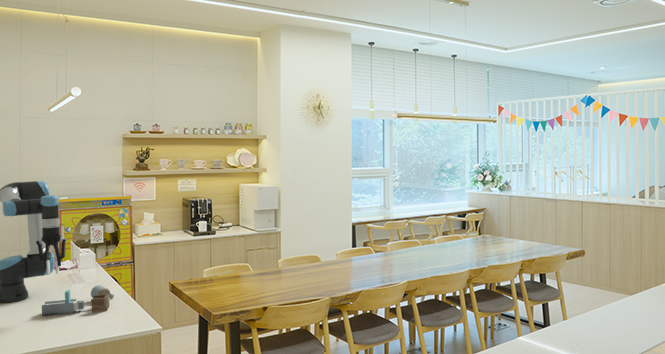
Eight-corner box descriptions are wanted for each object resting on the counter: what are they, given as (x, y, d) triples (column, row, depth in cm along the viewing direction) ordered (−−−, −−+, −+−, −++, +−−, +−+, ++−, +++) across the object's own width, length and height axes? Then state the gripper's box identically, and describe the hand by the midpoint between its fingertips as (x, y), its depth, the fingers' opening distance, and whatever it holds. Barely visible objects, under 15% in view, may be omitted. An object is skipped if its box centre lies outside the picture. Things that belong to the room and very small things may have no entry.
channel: (46, 312, 246) (45, 301, 246) (76, 309, 250) (76, 299, 249) (42, 316, 240) (41, 305, 239) (73, 313, 244) (72, 302, 243)
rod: (45, 310, 244) (44, 292, 244) (84, 307, 249) (83, 288, 249) (42, 313, 241) (41, 294, 241) (82, 309, 246) (81, 290, 245)
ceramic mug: (98, 303, 259) (98, 289, 259) (90, 300, 264) (90, 286, 264) (117, 298, 268) (117, 284, 268) (109, 296, 273) (108, 282, 272)
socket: (94, 307, 253) (94, 295, 252) (109, 305, 255) (108, 293, 254) (91, 312, 245) (91, 299, 245) (106, 310, 247) (106, 298, 247)
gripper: (29, 228, 236) (32, 276, 237) (67, 226, 240) (69, 273, 242) (34, 226, 243) (37, 272, 244) (70, 224, 247) (73, 270, 249)
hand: (53, 273), depth 243 cm, fingers open, 3 cm apart
